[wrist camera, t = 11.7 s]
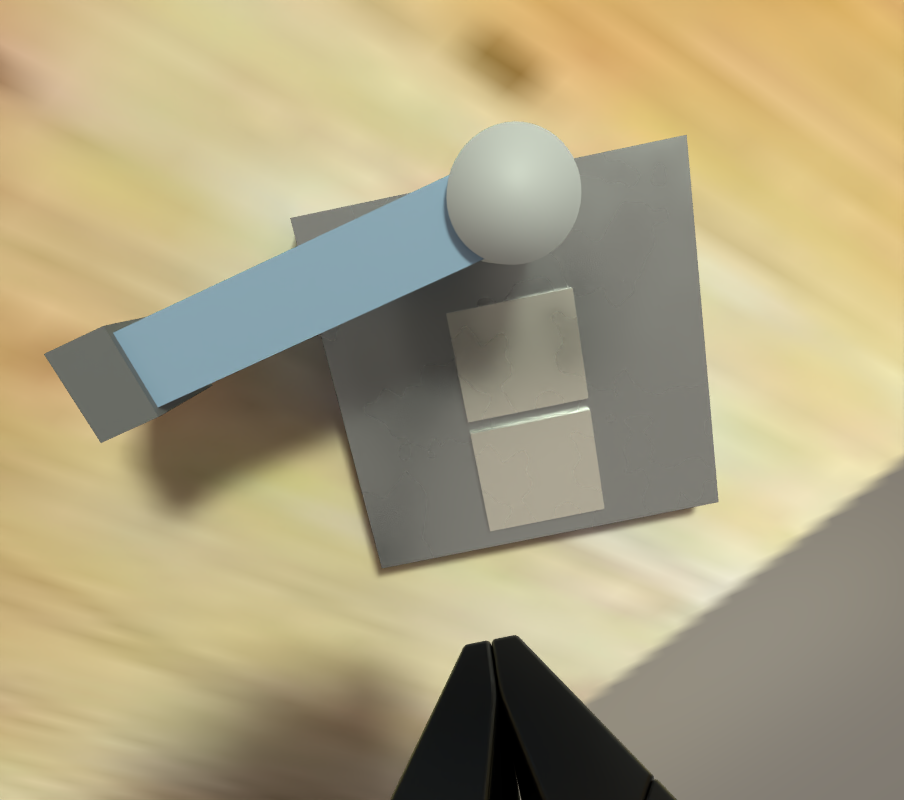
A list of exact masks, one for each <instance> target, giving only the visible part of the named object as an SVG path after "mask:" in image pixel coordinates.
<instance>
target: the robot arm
mask: <svg viewBox="0 0 904 800" xmlns="http://www.w3.org/2000/svg"><path fill="white" fill-rule="evenodd" d="M516 776H517V777H516ZM517 781H518V783H517ZM518 786H519V789H518ZM519 791H520V796H521V800H677V799H676V798H675V797H674V796H673V795H672V794H671V793H670V792H669V791H668V790H667V789H666V788H665V787H664V786H663V785H662V784H661V783H660V782H659V781H658V780H656V779H655V780H654V776H653V775H652V774H651V773H650V772H649V771H648V770H647V769H646V768H645V767H644V766H643V764H641V762H639V760H637V758H636V757H635V756H634V755H633V754H632V753H631V752H630V751H629V750H628V749H627V748H626V747H625V746H624V745H623V744H622V743H621V742H620V741H619V740H618V739H617V738H616V737H615V736H614V735H613V734H612V732H610V731H609V729H608V728H607V727H606V726H604V724H603V723H602V722H601V721H600V720H599V719H598V718H597V717H596V716H595V715H594V714H593V713H592V712H591V711H590V710H589V709H588V708H587V707H586V706H585V705H584V704H583V703H582V702H581V700H580V699H579V698H578V697H577V696H576V695H575V694H574V693H573V692H572V691H571V690H570V689H569V688H568V687H567V686H566V685H565V684H564V683H563V682H562V681H561V680H560V679H559V678H558V677H557V676H556V675H555V674H554V673H553V672H552V671H551V670H550V669H549V667H548V666H547V665H546V664H545V663H544V662H543V661H542V660H541V659H540V658H539V657H538V656H537V655H536V654H535V653H534V652H533V651H532V650H531V649H530V648H529V647H528V646H527V645H526V644H525V643H524V642H523V641H522V640H521V639H520V638H519V637H518V636H516V635H513V636H508V637H503V638H498V639H494V640H493V641H492V645H491V643H490V642H489V641H482V642H477V643H472V644H468V645H465V646H464V648H463V649H462V651H461V654H460V656H459V658H458V660H457V662H456V664H455V666H454V668H453V670H452V672H451V674H450V677H449V679H448V681H447V683H446V685H445V687H444V689H443V691H442V693H441V695H440V697H439V699H438V702H437V704H436V706H435V708H434V710H433V712H432V714H431V716H430V718H429V720H428V722H427V724H426V727H425V729H424V731H423V733H422V735H421V737H420V739H419V741H418V743H417V745H416V747H415V749H414V752H413V754H412V756H411V758H410V760H409V762H408V764H407V766H406V768H405V770H404V772H403V774H402V777H401V779H400V781H399V783H398V785H397V787H396V789H395V791H394V793H393V795H392V797H391V800H520V796H519Z"/></svg>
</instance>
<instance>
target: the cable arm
mask: <svg viewBox="0 0 904 800" xmlns="http://www.w3.org/2000/svg"><path fill="white" fill-rule="evenodd" d="M580 204H581V180H580V174H579V171H578V168H577V165H576V162H575V160H574V158H573V156H572V154H571V153H570V151H569V150H568V148H567V147H566V146H565V145H564V143H563V142H562V141H561V140H560V139H559V138H558V137H557V136H555V135H554V134H552V133H551V132H550V131H548V130H546V129H544V128H542V127H540V126H537V125H534V124H531V123H526V122H505V123H501V124H497V125H494V126H491V127H489V128H487V129H485V130H483V131H481V132H480V133H478V134H477V135H476V136H474V137H473V138H472V139H471V140H470V141H469V142H468V143H467V144H466V145H465V146H464V147H463V149H462V150H461V151H460V153H459V154H458V156H457V158H456V159H455V161H454V164H453V166H452V168H451V172H450V175H448V176H446V177H444V178H442V179H440V180H437V181H435V182H433V183H431V184H429V185H427V186H425V187H422V188H420V189H418V190H416V191H414V192H412V193H410V194H408V195H405V196H403V197H401V198H399V199H397V200H395V201H393V202H391V203H388V204H386V205H384V206H382V207H380V208H378V209H376V210H373V211H371V212H369V213H367V214H365V215H363V216H361V217H359V218H356V219H354V220H352V221H350V222H348V223H346V224H344V225H342V226H339V227H337V228H335V229H333V230H331V231H329V232H327V233H324V234H322V235H320V236H318V237H316V238H314V239H312V240H310V241H307V242H305V243H303V244H301V245H299V246H297V247H295V248H293V249H290V250H288V251H286V252H284V253H282V254H280V255H278V256H275V257H273V258H271V259H269V260H267V261H265V262H263V263H261V264H258V265H256V266H254V267H252V268H250V269H248V270H246V271H244V272H241V273H239V274H237V275H235V276H233V277H231V278H229V279H226V280H224V281H222V282H220V283H218V284H216V285H214V286H212V287H209V288H207V289H205V290H203V291H201V292H199V293H197V294H195V295H192V296H190V297H188V298H186V299H184V300H182V301H180V302H177V303H175V304H173V305H171V306H169V307H167V308H165V309H163V310H160V311H158V312H156V313H154V314H152V315H150V316H148V317H144V318H139V319H135V320H130V321H125V322H120V323H115V324H111V325H106V326H102V327H100V328H98V329H96V330H94V331H92V332H90V333H88V334H85V335H83V336H81V337H79V338H77V339H75V340H73V341H71V342H68V343H66V344H64V345H62V346H60V347H58V348H56V349H54V350H51V351H49V352H47V353H45V354H44V355H45V357H46V358H47V360H48V361H49V363H50V364H51V366H52V367H53V369H54V371H55V372H56V374H57V375H58V377H59V378H60V380H61V381H62V383H63V385H64V386H65V388H66V389H67V391H68V392H69V394H70V395H71V397H72V399H73V400H74V402H75V403H76V405H77V406H78V408H79V409H80V411H81V413H82V414H83V416H84V417H85V419H86V420H87V422H88V424H89V425H90V427H91V428H92V430H93V431H94V433H95V434H96V436H97V438H98V439H99V441H100V442H101V443H102V442H104V441H106V440H109V439H111V438H113V437H115V436H117V435H120V434H122V433H124V432H126V431H128V430H131V429H133V428H135V427H137V426H139V425H142V424H144V423H146V422H148V421H150V420H153V419H155V418H157V417H159V416H161V415H162V414H164V413H166V412H168V411H169V410H171V409H173V408H175V407H176V406H178V405H180V404H181V403H183V402H185V401H187V400H188V399H190V398H192V397H193V396H195V395H197V394H199V393H200V392H202V391H204V390H206V389H207V388H209V387H211V386H212V384H211V383H213V382H215V381H217V380H219V379H222V378H224V377H226V376H228V375H230V374H233V373H235V372H237V371H239V370H241V369H243V368H246V367H248V366H250V365H252V364H254V363H257V362H259V361H261V360H263V359H265V358H268V357H270V356H272V355H274V354H276V353H279V352H281V351H283V350H285V349H287V348H290V347H292V346H294V345H296V344H298V343H301V342H303V341H305V340H307V339H309V338H312V337H314V336H316V335H318V334H320V333H323V332H325V331H327V330H329V329H331V328H334V327H336V326H338V325H340V324H342V323H345V322H347V321H349V320H351V319H353V318H356V317H358V316H360V315H362V314H364V313H367V312H369V311H371V310H373V309H375V308H378V307H380V306H382V305H384V304H386V303H389V302H391V301H393V300H395V299H397V298H400V297H402V296H404V295H406V294H408V293H411V292H413V291H415V290H417V289H419V288H421V287H424V286H426V285H428V284H430V283H432V282H435V281H437V280H439V279H441V278H443V277H446V276H448V275H450V274H452V273H454V272H457V271H459V270H461V269H463V268H465V267H468V266H470V265H472V264H474V263H476V262H479V261H483V262H488V263H496V264H506V265H518V264H525V263H529V262H533V261H535V260H538V259H540V258H542V257H544V256H546V255H548V254H549V253H550V252H552V251H553V250H554V249H556V248H557V247H558V246H559V245H560V244H561V243H562V242H563V240H564V239H565V238H566V237H567V235H568V234H569V232H570V231H571V229H572V227H573V225H574V223H575V221H576V218H577V215H578V213H579V208H580Z"/></svg>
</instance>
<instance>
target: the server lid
mask: <svg viewBox="0 0 904 800" xmlns="http://www.w3.org/2000/svg"><path fill="white" fill-rule="evenodd" d="M574 160H575V162H576V165H577V168H578V171H579V174H580V180H581V204H580V208H579V213H578V215H577V218H576V221H575V223H574V225H573V227H572V229H571V231H570V232H569V234H568V235H567V237H566V238H565V239H564V240H563V242H562V243H561V244H560V245H559V246H558V247H557V248H556V249H554V250H553V251H552V252H550V253H549V254H548V255H546V256H544V257H542V258H540V259H538V260H535V261H533V262H529V263H525V264H518V265H506V264H496V263H488V262H483V261H479V262H476V263H474V264H472V265H470V266H468V267H465V268H463V269H461V270H459V271H457V272H454V273H452V274H450V275H448V276H446V277H443V278H441V279H439V280H437V281H435V282H432V283H430V284H428V285H426V286H424V287H421V288H419V289H417V290H415V291H413V292H411V293H408V294H406V295H404V296H402V297H400V298H397V299H395V300H393V301H391V302H389V303H386V304H384V305H382V306H380V307H378V308H375V309H373V310H371V311H369V312H367V313H364V314H362V315H360V316H358V317H356V318H353V319H351V320H349V321H347V322H345V323H342V324H340V325H338V326H336V327H334V328H331V329H329V330H327V331H325V332H323V333H320V334H321V338H322V341H323V345H324V349H325V353H326V357H327V360H328V364H329V368H330V372H331V376H332V380H333V383H334V387H335V391H336V395H337V399H338V403H339V406H340V410H341V414H342V418H343V422H344V426H345V429H346V433H347V437H348V441H349V445H350V448H351V452H352V456H353V460H354V464H355V468H356V471H357V475H358V479H359V483H360V487H361V491H362V494H363V498H364V502H365V506H366V510H367V514H368V517H369V521H370V525H371V529H372V533H373V536H374V540H375V544H376V548H377V552H378V556H379V559H380V563H381V567H382V568H386V567H392V566H397V565H402V564H407V563H412V562H417V561H422V560H427V559H432V558H437V557H442V556H447V555H452V554H457V553H463V552H468V551H473V550H478V549H483V548H488V547H493V546H498V545H503V544H508V543H513V542H518V541H523V540H529V539H534V538H539V537H544V536H549V535H554V534H559V533H564V532H569V531H574V530H579V529H584V528H589V527H594V526H600V525H605V524H610V523H615V522H620V521H625V520H630V519H635V518H640V517H645V516H650V515H655V514H660V513H665V512H671V511H676V510H681V509H686V508H691V507H696V506H701V505H706V504H711V503H716V502H718V491H717V480H716V468H715V457H714V445H713V434H712V422H711V411H710V399H709V388H708V376H707V365H706V353H705V341H704V330H703V318H702V307H701V295H700V284H699V272H698V261H697V249H696V238H695V226H694V215H693V203H692V192H691V180H690V168H689V157H688V145H687V135H684V136H679V137H674V138H669V139H665V140H660V141H655V142H650V143H646V144H641V145H636V146H631V147H627V148H622V149H617V150H612V151H608V152H603V153H598V154H593V155H589V156H584V157H579V158H574ZM408 194H410V193H408ZM408 194H403V195H398V196H393V197H389V198H384V199H379V200H374V201H370V202H365V203H360V204H355V205H351V206H346V207H341V208H336V209H332V210H327V211H322V212H317V213H313V214H308V215H303V216H298V217H294V218H290V219H291V223H292V227H293V230H294V234H295V238H296V242H297V246H299V245H301V244H303V243H305V242H307V241H310V240H312V239H314V238H316V237H318V236H320V235H322V234H324V233H327V232H329V231H331V230H333V229H335V228H337V227H339V226H342V225H344V224H346V223H348V222H350V221H352V220H354V219H356V218H359V217H361V216H363V215H365V214H367V213H369V212H371V211H373V210H376V209H378V208H380V207H382V206H384V205H386V204H388V203H391V202H393V201H395V200H397V199H399V198H401V197H403V196H405V195H408Z"/></svg>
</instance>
